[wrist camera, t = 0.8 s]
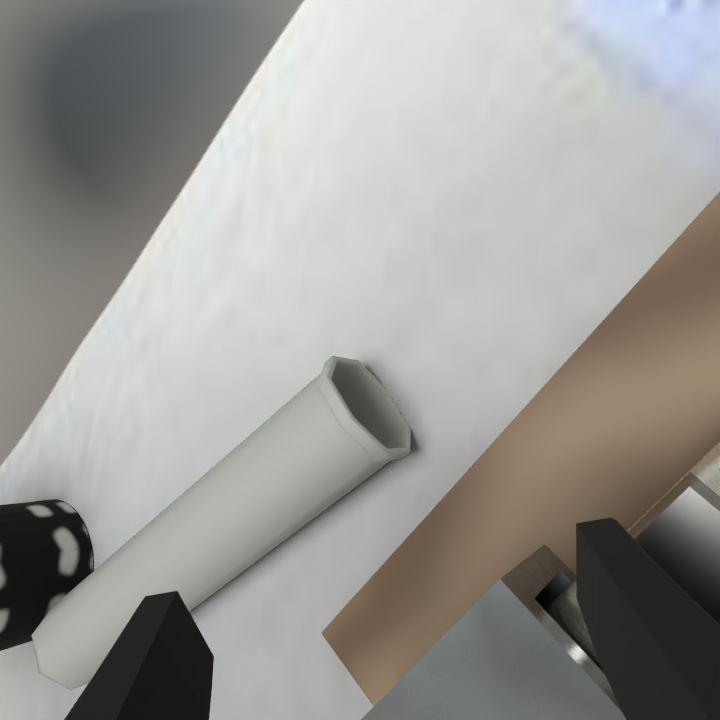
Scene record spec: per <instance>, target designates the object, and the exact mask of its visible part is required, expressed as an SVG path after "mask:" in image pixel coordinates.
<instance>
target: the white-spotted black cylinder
mask: <svg viewBox="0 0 720 720" xmlns="http://www.w3.org/2000/svg"><path fill="white" fill-rule="evenodd" d="M92 572H93V555H92V548H91V543H90V539H89V535H88V532H87V530H86V528H85V525H84V523H83V521H82V519H81V518H80V516H79V515H78V513H77V512H76V511H75V510H74V509H73V508H72V507H71V506H70V505H68V504H66V503H65V502H63V501H59V500H44V501H35V502H26V503H17V504H8V505H0V651H1V650H4V649H8V648H11V647H14V646H17V645H20V644H23V643H26V642H29V641H33V639H32V636H31V635H32V634H33V633H34V631H35V630H36V628H37V627H38V626H39V624H40V623H41V622H42V620H43V619H44V618H45V616H46V615H47V613H48V612H49V611H50V609H51V608H52V607H53V606H54V605H55V604H56V603H58V602H59V601H60V600H61V599H62V598H63V597H65V596H66V595H67V594H68V593H69V592H70V591H71V590H73V589H74V588H75V587H76V586H77V585H78V584H79V583H81V582H82V581H83V580H84V579H85V578H86V577H87V576H89V575H90V574H91V573H92Z"/></svg>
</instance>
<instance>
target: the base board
mask: <svg viewBox="0 0 720 720" xmlns="http://www.w3.org/2000/svg"><path fill="white" fill-rule="evenodd" d="M718 442H720V192H719V193H718V194H717V195H716V196H715V197H714V199H713V200H712V201H711V202H710V203H709V204H708V205H707V206H706V207H705V209H704V210H703V211H702V212H701V213H700V214H699V215H698V216H697V217H696V219H695V220H694V221H693V222H692V223H691V224H690V225H689V226H688V227H687V228H686V230H685V231H684V232H683V233H682V234H681V235H680V236H679V237H678V238H677V240H676V241H675V242H674V243H673V244H672V245H671V246H670V247H669V248H668V250H667V251H666V252H665V253H664V254H663V255H662V256H661V257H660V258H659V260H658V261H657V262H656V263H655V264H654V265H653V266H652V267H651V268H650V269H649V271H648V272H647V273H646V274H645V275H644V276H643V277H642V278H641V279H640V281H639V282H638V283H637V284H636V285H635V286H634V287H633V288H632V289H631V291H630V292H629V293H628V294H627V295H626V296H625V297H624V298H623V299H622V300H621V302H620V303H619V304H618V305H617V306H616V307H615V308H614V309H613V310H612V312H611V313H610V314H609V315H608V316H607V317H606V318H605V319H604V320H603V322H602V323H601V324H600V325H599V326H598V327H597V328H596V329H595V330H594V331H593V333H592V334H591V335H590V336H589V337H588V338H587V339H586V340H585V341H584V343H583V344H582V345H581V346H580V347H579V348H578V349H577V350H576V351H575V353H574V354H573V355H572V356H571V357H570V358H569V359H568V360H567V361H566V363H565V364H564V365H563V366H562V367H561V368H560V369H559V370H558V371H557V372H556V374H555V375H554V376H553V377H552V378H551V379H550V380H549V381H548V382H547V384H546V385H545V386H544V387H543V388H542V389H541V390H540V391H539V392H538V394H537V395H536V396H535V397H534V398H533V399H532V400H531V401H530V402H529V403H528V405H527V406H526V407H525V408H524V409H523V410H522V411H521V412H520V413H519V415H518V416H517V417H516V418H515V419H514V420H513V421H512V422H511V423H510V425H509V426H508V427H507V428H506V429H505V430H504V431H503V432H502V433H501V434H500V436H499V437H498V438H497V439H496V440H495V441H494V442H493V443H492V444H491V446H490V447H489V448H488V449H487V450H486V451H485V452H484V453H483V454H482V456H481V457H480V458H479V459H478V460H477V461H476V462H475V463H474V464H473V466H472V467H471V468H470V469H469V470H468V471H467V472H466V473H465V474H464V475H463V477H462V478H461V479H460V480H459V481H458V482H457V483H456V484H455V485H454V487H453V488H452V489H451V490H450V491H449V492H448V493H447V494H446V495H445V497H444V498H443V499H442V500H441V501H440V502H439V503H438V504H437V505H436V506H435V508H434V509H433V510H432V511H431V512H430V513H429V514H428V515H427V516H426V518H425V519H424V520H423V521H422V522H421V523H420V524H419V525H418V526H417V528H416V529H415V530H414V531H413V532H412V533H411V534H410V535H409V536H408V537H407V539H406V540H405V541H404V542H403V543H402V544H401V545H400V546H399V547H398V549H397V550H396V551H395V552H394V553H393V554H392V555H391V556H390V557H389V559H388V560H387V561H386V562H385V563H384V564H383V565H382V566H381V567H380V569H379V570H378V571H377V572H376V573H375V574H374V575H373V576H372V577H371V578H370V580H369V581H368V582H367V583H366V584H365V585H364V586H363V587H362V588H361V590H360V591H359V592H358V593H357V594H356V595H355V596H354V597H353V598H352V600H351V601H350V602H349V603H348V604H347V605H346V606H345V607H344V608H343V609H342V611H341V612H340V613H339V614H338V615H337V616H336V617H335V618H334V619H333V621H332V622H331V623H330V624H329V625H328V626H327V627H326V628H325V629H324V631H323V632H322V635H323V636H324V637H325V639H326V640H327V642H328V643H329V644H330V646H331V647H332V649H333V650H334V651H335V653H336V654H337V656H338V657H339V658H340V660H341V661H342V663H343V664H344V665H345V667H346V668H347V670H348V671H349V672H350V674H351V675H352V677H353V678H354V679H355V681H356V682H357V684H358V685H359V686H360V688H361V689H362V691H363V692H364V693H365V695H366V696H367V697H368V699H369V700H370V702H371V703H372V704H373V706H375V705H376V704H377V703H378V702H379V701H380V700H381V699H382V698H383V697H384V696H385V695H386V694H387V693H388V692H389V691H390V690H391V689H392V688H393V687H394V686H395V685H396V684H397V683H398V682H399V681H400V680H401V679H402V678H403V677H404V676H405V675H406V674H407V673H408V672H409V671H410V670H411V669H412V668H413V667H414V666H415V665H416V664H417V663H418V662H419V660H420V659H421V658H422V657H423V656H424V655H425V654H426V653H427V652H428V651H429V650H430V649H431V648H432V647H433V646H434V645H435V644H436V643H437V642H438V641H439V640H440V639H441V638H442V637H443V636H444V635H445V634H446V633H447V632H448V631H449V630H450V629H451V628H452V627H453V626H454V625H455V624H456V623H457V622H458V621H459V620H460V619H461V618H462V617H463V616H464V615H465V614H466V613H467V612H468V611H469V610H470V609H471V608H472V607H473V606H474V605H475V604H476V603H477V602H478V601H479V600H480V599H481V598H482V597H483V596H484V595H485V594H486V593H487V592H488V591H489V590H490V589H491V587H492V586H493V585H494V584H495V583H496V582H497V581H498V580H499V579H501V578H502V577H503V576H504V575H506V574H507V573H508V572H509V571H511V570H512V569H513V568H515V567H516V566H517V565H518V564H520V563H521V562H522V561H524V560H525V559H526V558H527V557H529V556H530V555H531V554H533V553H534V552H535V551H536V550H538V549H539V548H540V547H542V546H543V545H544V544H545V545H546V546H547V547H548V548H549V549H550V550H551V551H552V552H553V553H554V554H555V555H556V556H557V557H558V558H559V559H560V560H561V561H562V562H563V563H564V564H565V565H566V566H567V567H568V568H569V569H570V570H571V571H572V572H573V573H574V574H575V575H576V523H581V522H587V521H593V520H599V519H605V518H611V517H612V518H613V519H615V520H617V521H618V522H619V523H620V524H621V525H622V527H623V528H624V529H625V530H626V531H627V530H628V529H629V528H630V527H631V526H633V525H634V524H635V523H636V522H637V521H638V520H639V519H640V518H641V517H642V516H643V515H644V514H645V513H646V512H647V511H648V510H649V509H650V508H651V507H652V506H653V505H654V504H655V503H656V502H657V501H658V500H659V499H660V498H662V497H663V496H664V495H665V494H666V493H667V492H668V491H669V490H670V489H671V488H672V487H673V486H674V485H675V484H676V483H677V482H678V481H679V480H680V479H681V478H682V477H683V476H684V475H685V474H686V473H687V472H688V471H689V470H691V469H692V468H693V467H694V466H695V465H696V464H697V463H698V462H699V461H700V460H701V459H702V458H703V457H704V456H705V455H706V454H707V453H708V452H709V451H710V450H711V449H712V448H713V447H714V446H715V445H716V444H717V443H718Z"/></svg>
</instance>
